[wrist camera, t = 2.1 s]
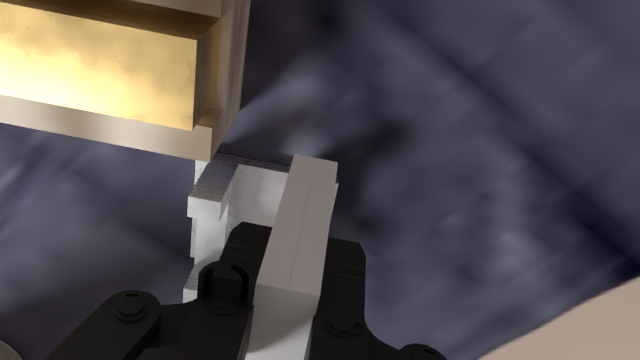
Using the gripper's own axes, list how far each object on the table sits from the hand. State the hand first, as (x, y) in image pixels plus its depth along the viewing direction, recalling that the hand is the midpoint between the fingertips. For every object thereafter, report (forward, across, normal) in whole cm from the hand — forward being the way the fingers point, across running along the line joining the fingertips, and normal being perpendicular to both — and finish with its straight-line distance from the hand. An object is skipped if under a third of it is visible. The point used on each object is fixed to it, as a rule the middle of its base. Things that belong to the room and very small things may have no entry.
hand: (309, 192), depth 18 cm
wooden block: (+12, -13, 0) cm, 18 cm away
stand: (+17, -3, -13) cm, 21 cm away
